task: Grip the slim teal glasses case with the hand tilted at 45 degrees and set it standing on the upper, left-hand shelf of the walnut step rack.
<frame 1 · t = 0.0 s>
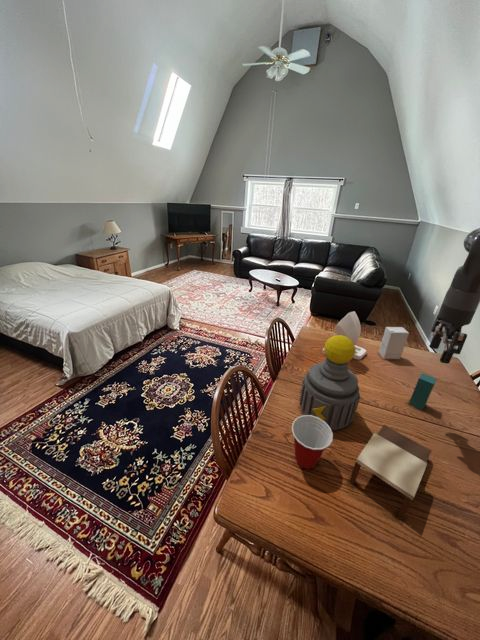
hand: (438, 354, 80), 27 cm above the table, tool pointing down, fingers open, 8 cm apart
cosmetic box: (388, 356, 130), on the table
decorative lamp: (324, 411, 95), on the table
jewelry stand: (342, 355, 130), on the table
plastic cup: (305, 461, 77), on the table
rack: (390, 469, 75), on the table
glasses case: (416, 404, 100), on the table
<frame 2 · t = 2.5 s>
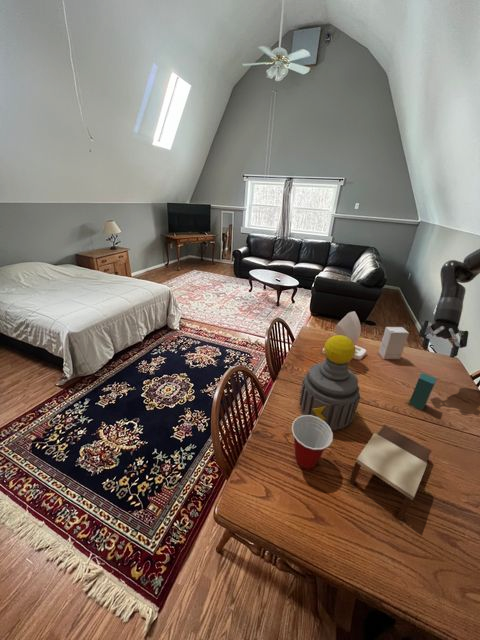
hand: (438, 353, 96), 20 cm above the table, tool tilted 40°, fingers open, 8 cm apart
nothing on the table moved.
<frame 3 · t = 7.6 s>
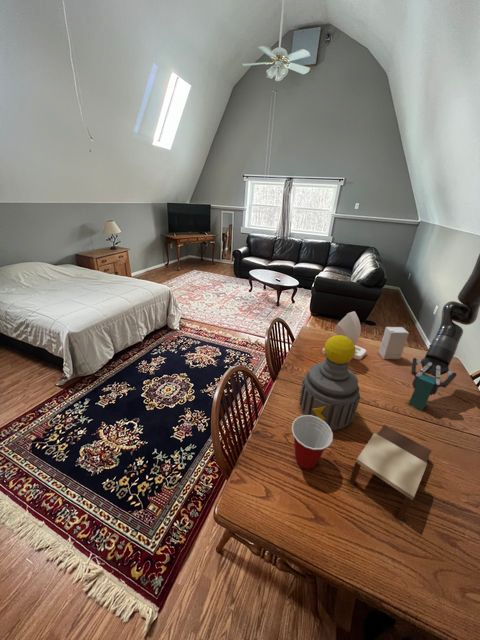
hand: (422, 390, 95), 8 cm above the table, tool tilted 45°, fingers closed on glasses case, 4 cm apart
glasses case: (417, 404, 100), on the table, touching gripper
everything else where it was.
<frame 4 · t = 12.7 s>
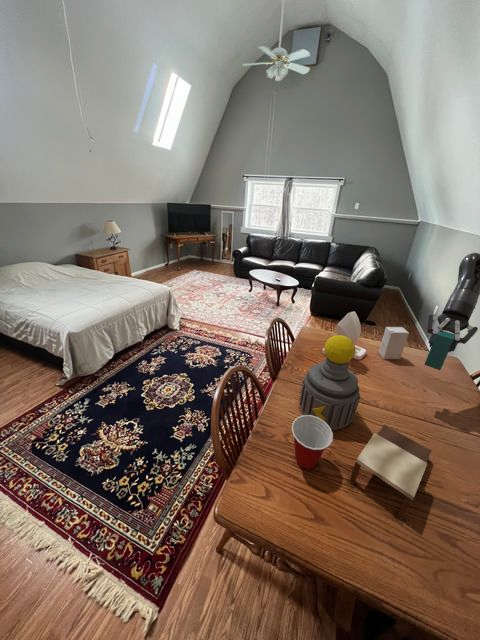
hand: (440, 347, 88), 25 cm above the table, tool tilted 45°, fingers closed on glasses case, 4 cm apart
glasses case: (433, 365, 92), point 18 cm above the table, touching gripper
everything else where it was.
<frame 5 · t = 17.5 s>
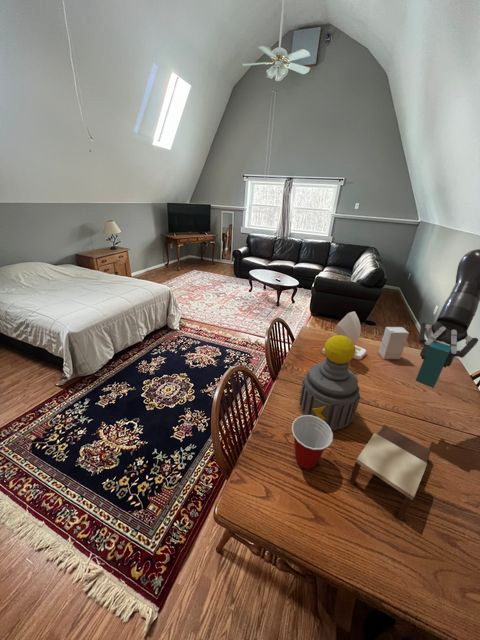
hand: (433, 362, 75), 28 cm above the table, tool tilted 45°, fingers closed on glasses case, 4 cm apart
glasses case: (426, 381, 79), point 20 cm above the table, touching gripper
everything else where it was.
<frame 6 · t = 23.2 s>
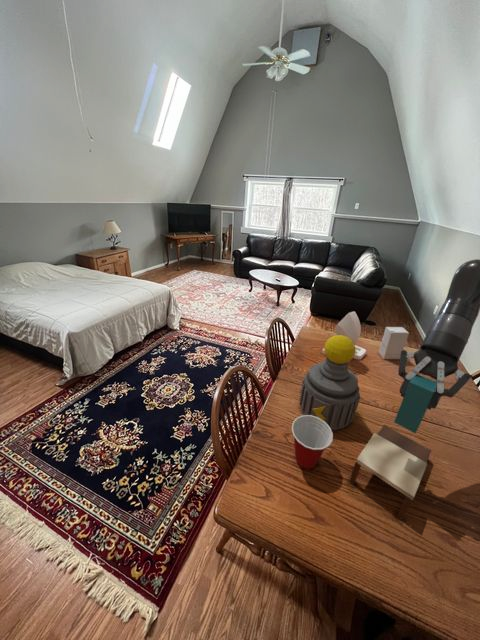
hand: (415, 401, 59), 28 cm above the table, tool tilted 45°, fingers closed on glasses case, 4 cm apart
glasses case: (407, 422, 64), point 20 cm above the table, touching gripper
everything else where it was.
when the fingers open (17 cm above the table, at t = 27.8 s): glasses case stays where it is, resting on rack.
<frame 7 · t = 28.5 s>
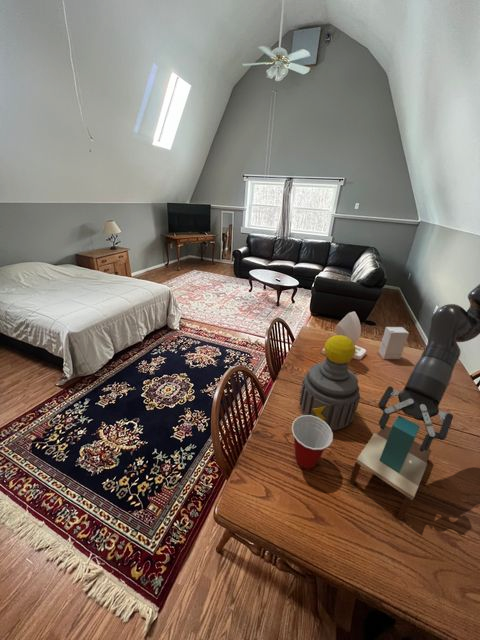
hand: (400, 439, 63), 18 cm above the table, tool tilted 45°, fingers open, 8 cm apart
glasses case: (391, 460, 67), point 9 cm above the table, touching rack
everything else where it was.
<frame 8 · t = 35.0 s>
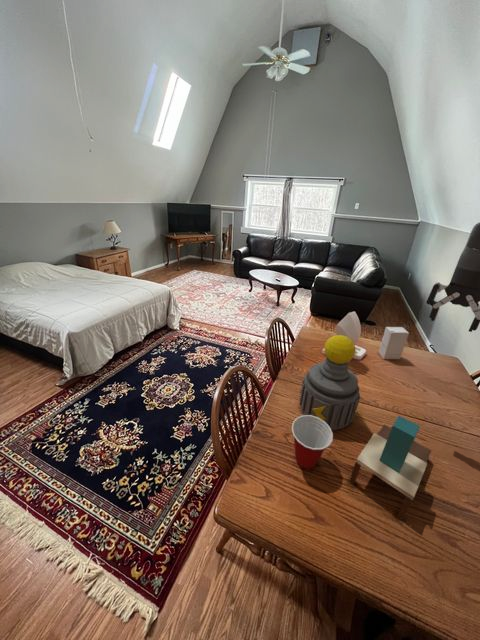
hand: (451, 325, 73), 38 cm above the table, tool pointing down, fingers open, 8 cm apart
nothing on the table moved.
at the end: glasses case inside the target area on the rack (0.2 cm from its centre), point 9.0 cm above the rack's base; glasses case tilted 0°; the gripper is holding nothing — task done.
